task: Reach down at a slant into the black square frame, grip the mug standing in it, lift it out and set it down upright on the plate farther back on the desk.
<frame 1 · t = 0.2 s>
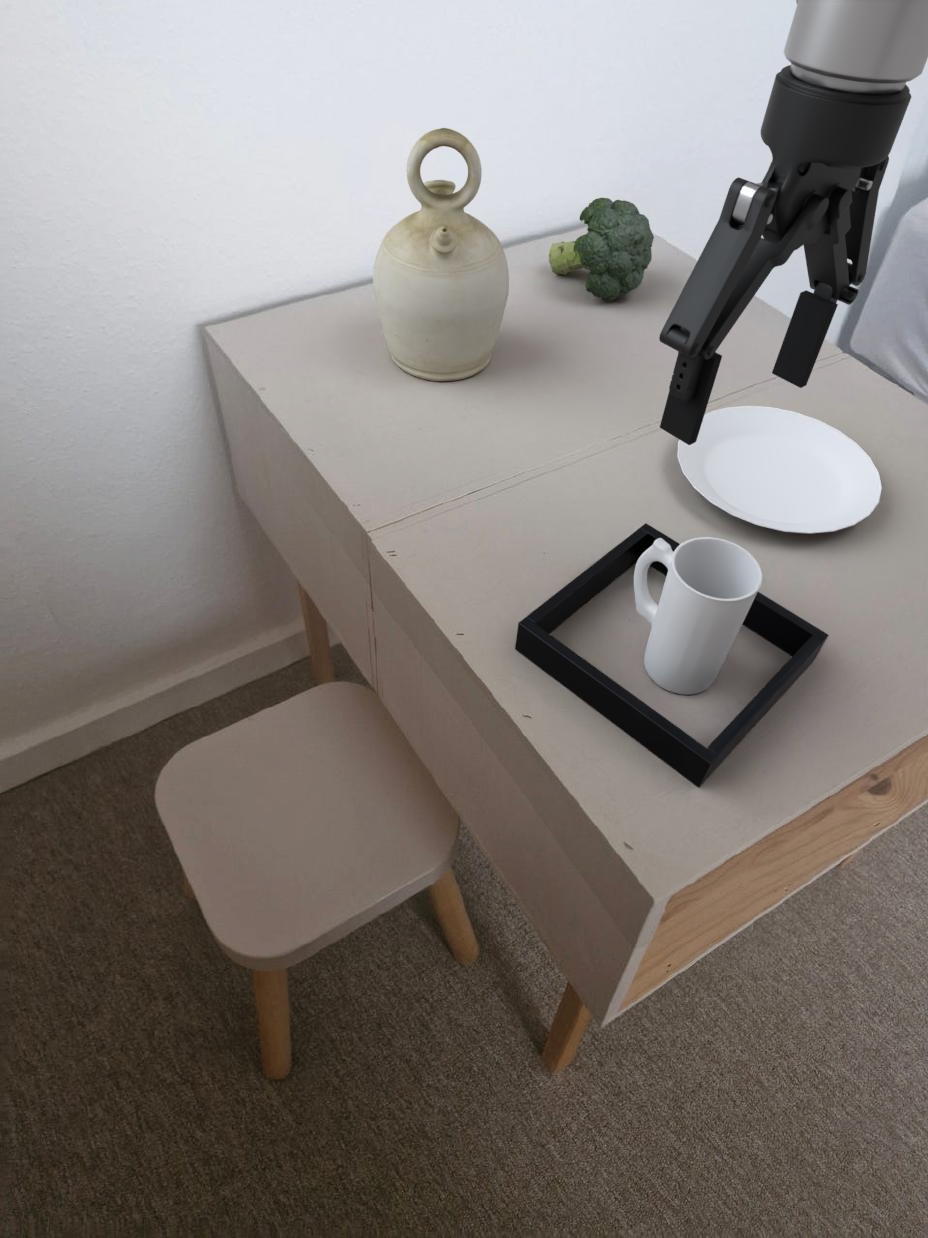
hand: (736, 405, 63), 20 cm above the table, tool pointing down, fingers open, 13 cm apart
jug: (439, 355, 103), on the table
plate: (770, 482, 90), on the table
vegetable: (594, 287, 116), on the table
black square frame: (665, 655, 73), on the table
mug: (664, 656, 73), resting in black square frame
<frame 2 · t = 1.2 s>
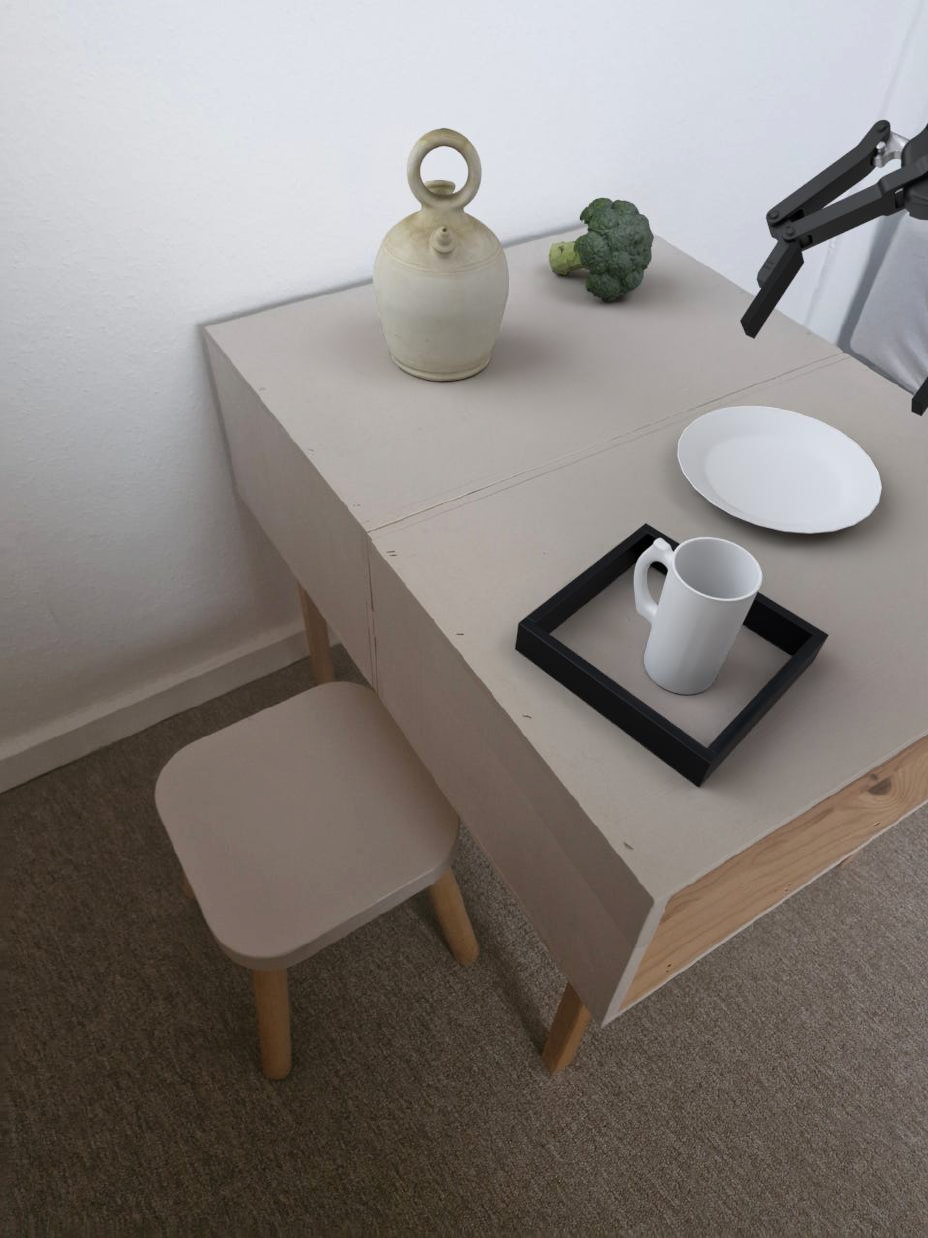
hand: (827, 367, 62), 23 cm above the table, tool tilted 45°, fingers open, 13 cm apart
nothing on the table moved.
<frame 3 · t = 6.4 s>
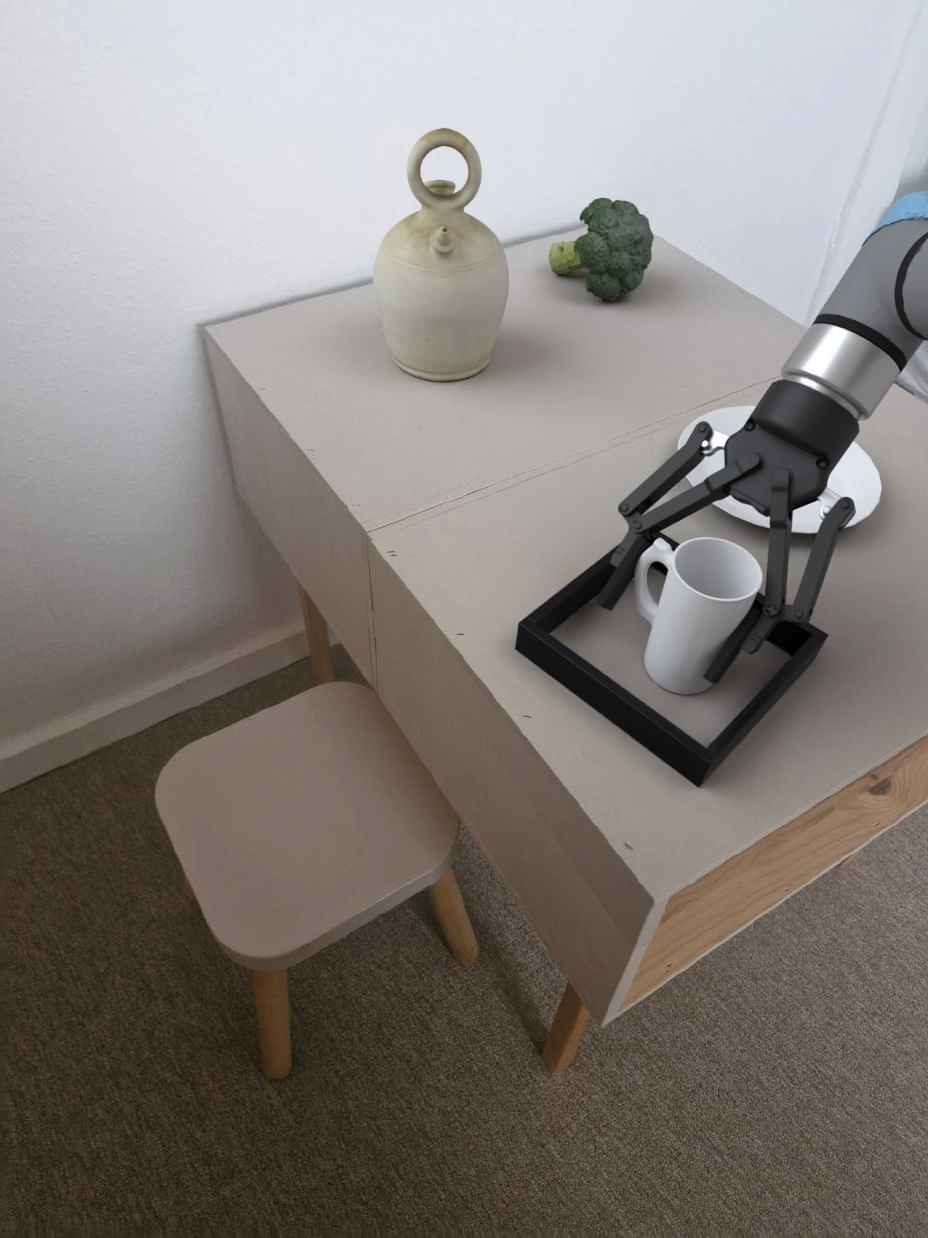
hand: (654, 642, 69), 4 cm above the table, tool tilted 45°, fingers closed on mug, 10 cm apart
mug: (664, 656, 73), resting in black square frame, touching gripper
everything else where it was.
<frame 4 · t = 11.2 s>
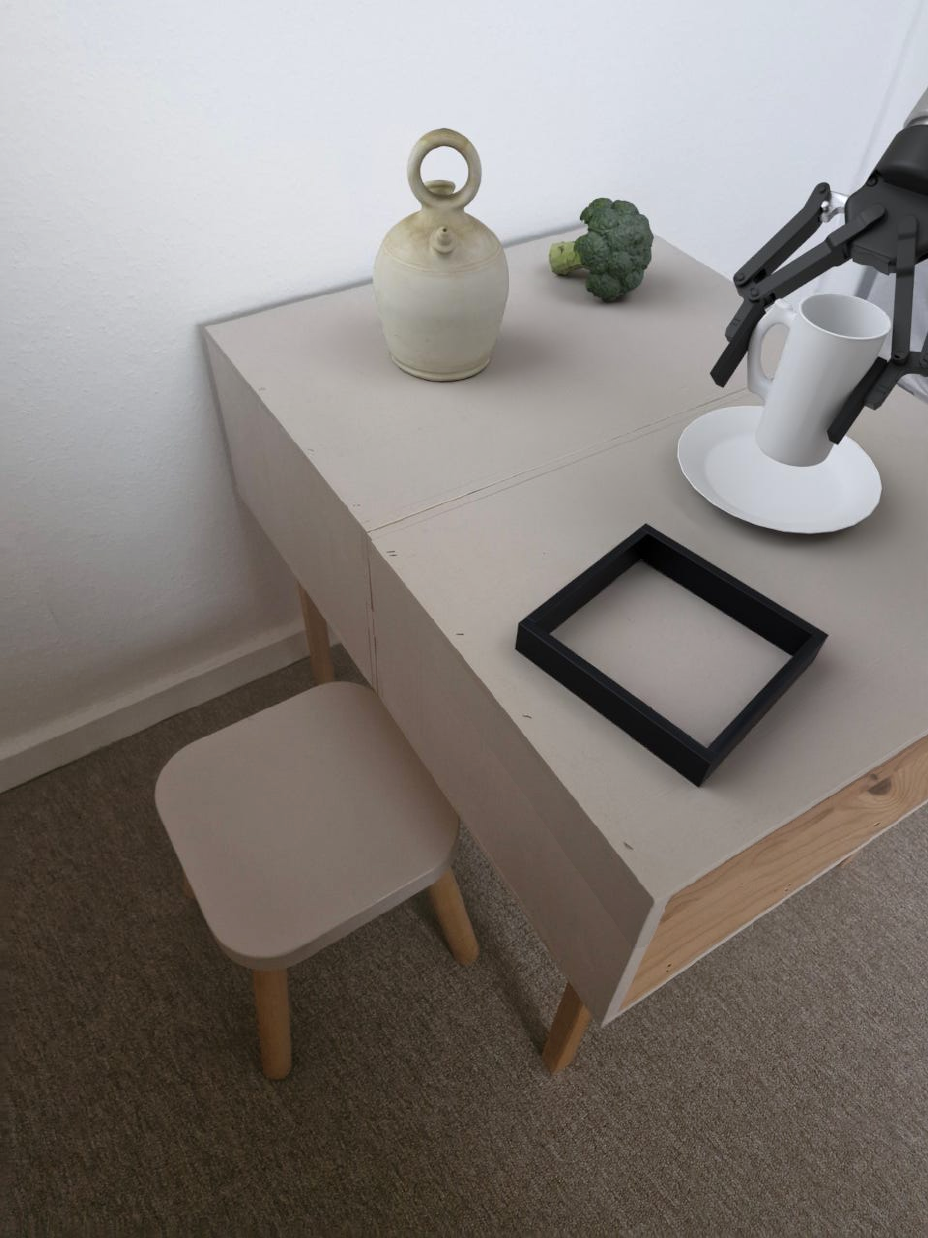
hand: (772, 408, 68), 17 cm above the table, tool tilted 45°, fingers closed on mug, 10 cm apart
mug: (774, 437, 73), point 13 cm above the table, touching gripper
everything else where it was.
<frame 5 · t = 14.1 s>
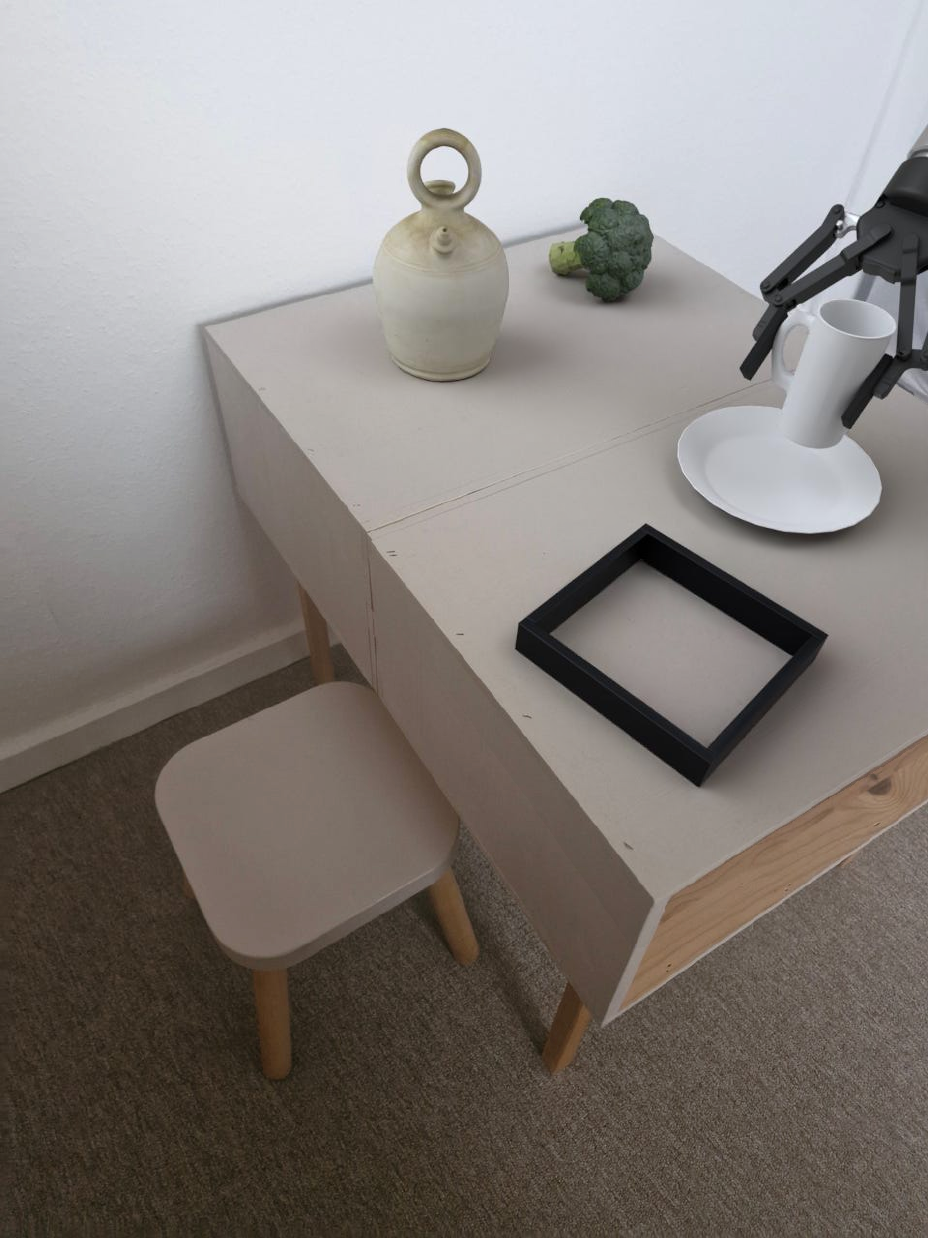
hand: (793, 398, 80), 12 cm above the table, tool tilted 45°, fingers closed on mug, 10 cm apart
mug: (794, 423, 84), point 7 cm above the table, touching gripper
everything else where it was.
when the fingers open (6 cm above the table, at t = 16.1 s): mug stays where it is, resting on plate.
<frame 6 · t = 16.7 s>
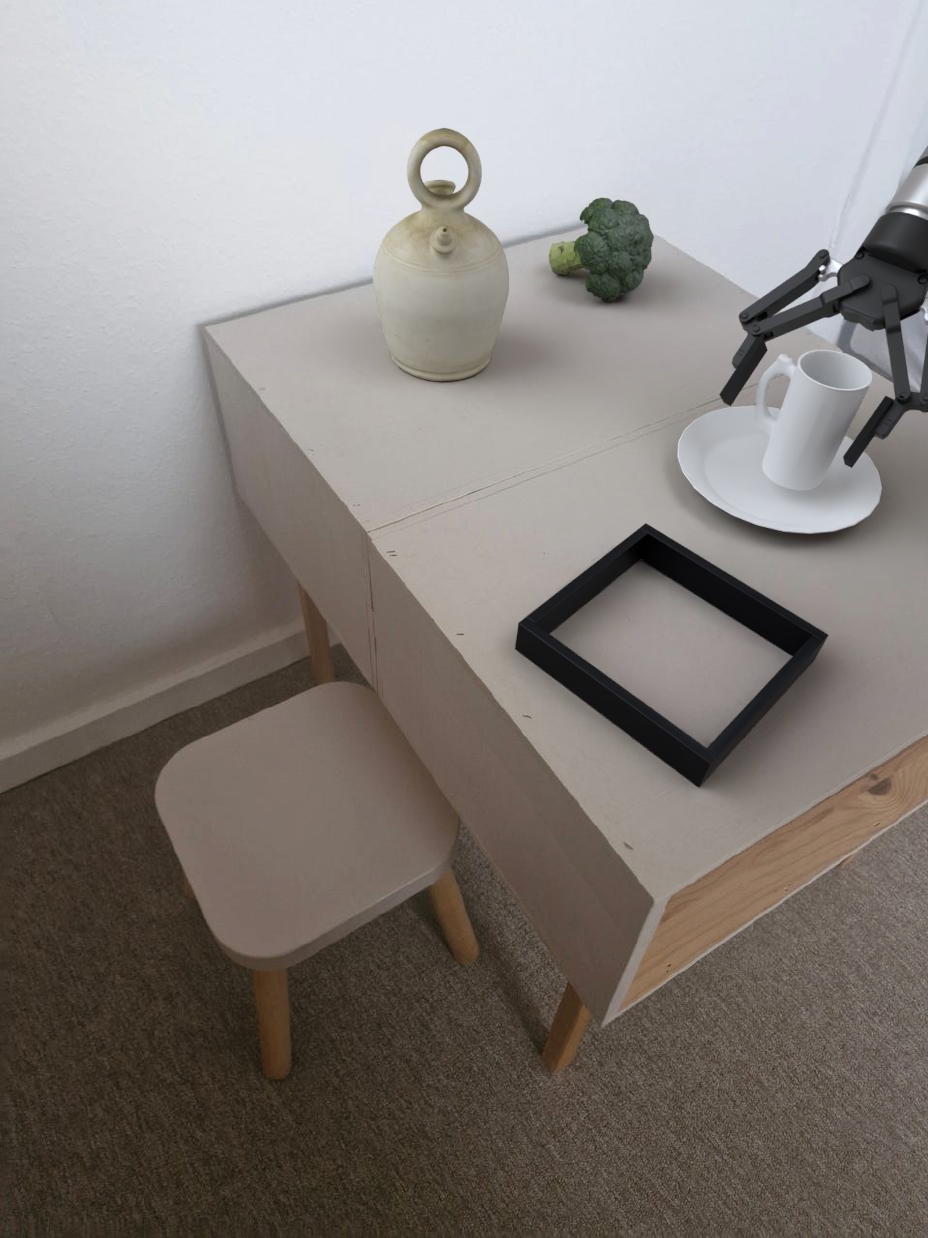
hand: (783, 430, 83), 8 cm above the table, tool tilted 45°, fingers open, 13 cm apart
plate: (770, 482, 90), on the table, touching mug
mug: (778, 465, 88), point 2 cm above the table, touching plate
everything else where it was.
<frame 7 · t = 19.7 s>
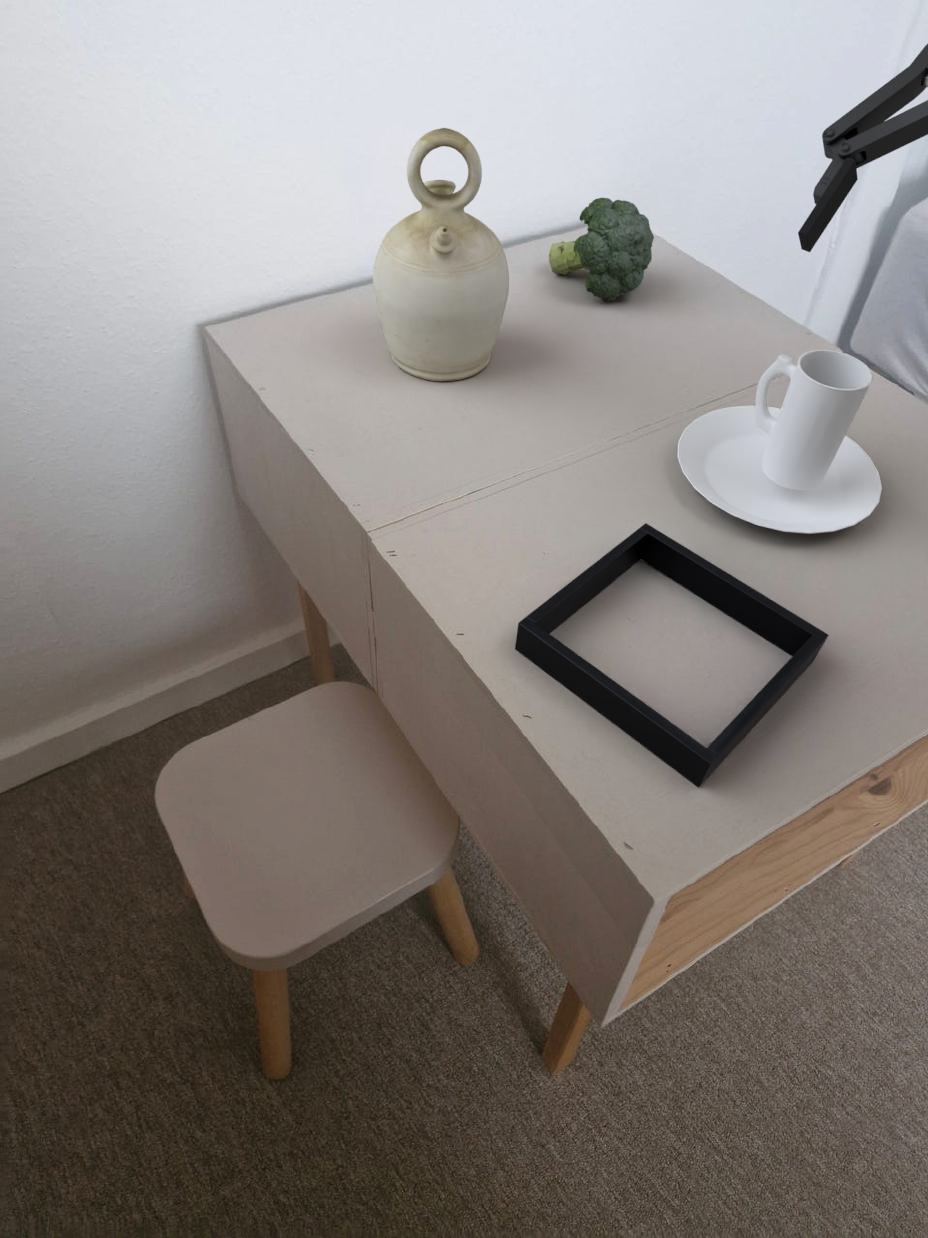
hand: (881, 273, 66), 26 cm above the table, tool tilted 45°, fingers open, 13 cm apart
nothing on the table moved.
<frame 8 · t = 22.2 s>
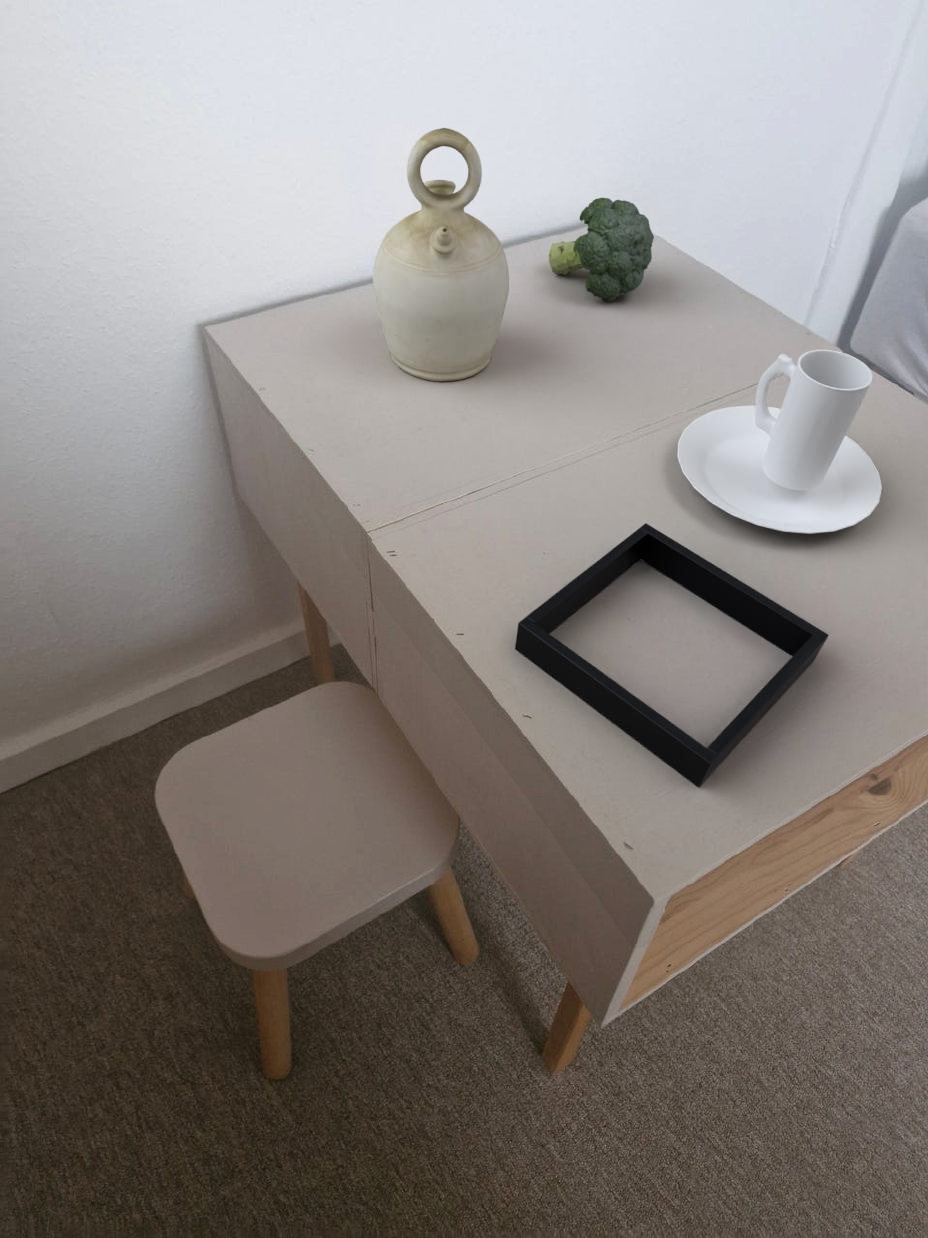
nothing on the table moved.
at the end: mug inside the target area on the plate (0.0 cm from its centre), point 2.3 cm above the plate's base; mug tilted 0°; the gripper is holding nothing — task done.
